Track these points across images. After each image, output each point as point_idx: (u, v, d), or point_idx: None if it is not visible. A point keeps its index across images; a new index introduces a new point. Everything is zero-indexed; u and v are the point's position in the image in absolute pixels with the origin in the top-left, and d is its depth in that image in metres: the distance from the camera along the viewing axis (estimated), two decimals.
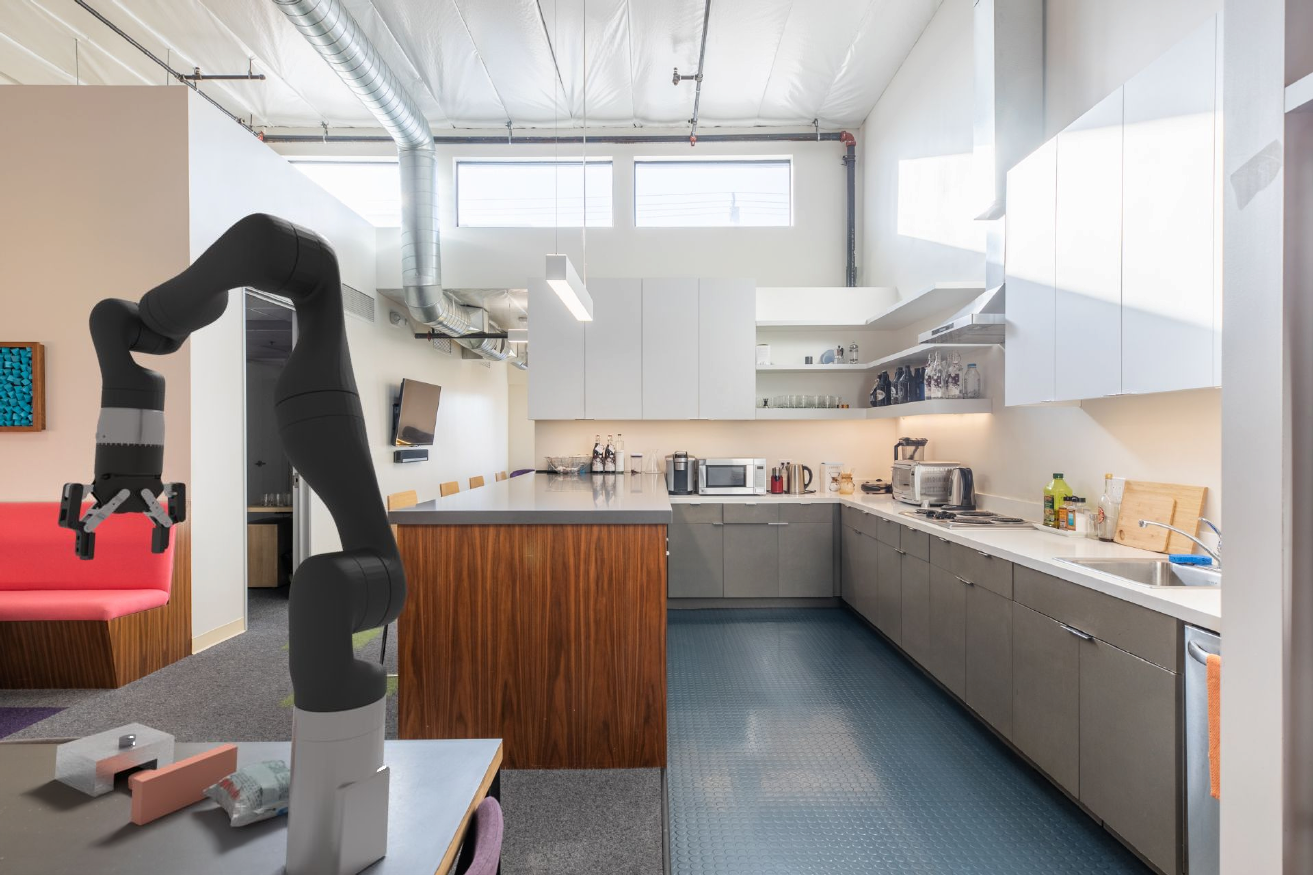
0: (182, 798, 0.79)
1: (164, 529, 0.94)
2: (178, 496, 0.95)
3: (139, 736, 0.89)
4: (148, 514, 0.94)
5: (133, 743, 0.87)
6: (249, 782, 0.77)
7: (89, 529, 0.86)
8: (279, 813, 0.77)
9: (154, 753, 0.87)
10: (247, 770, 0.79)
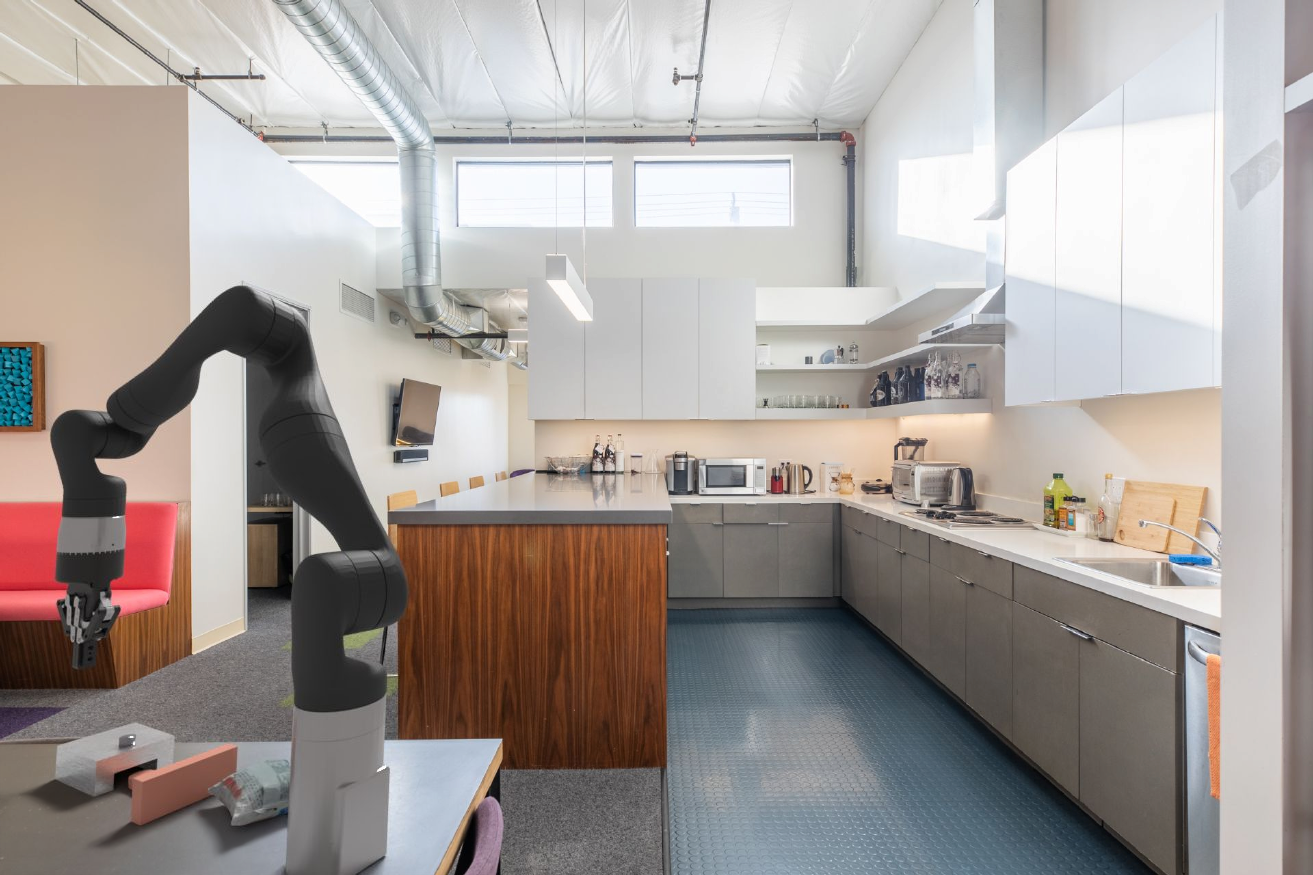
0: (182, 798, 0.79)
1: None
2: None
3: (139, 736, 0.89)
4: None
5: (133, 743, 0.87)
6: (252, 782, 0.77)
7: None
8: (281, 813, 0.77)
9: (154, 753, 0.87)
10: (250, 770, 0.80)
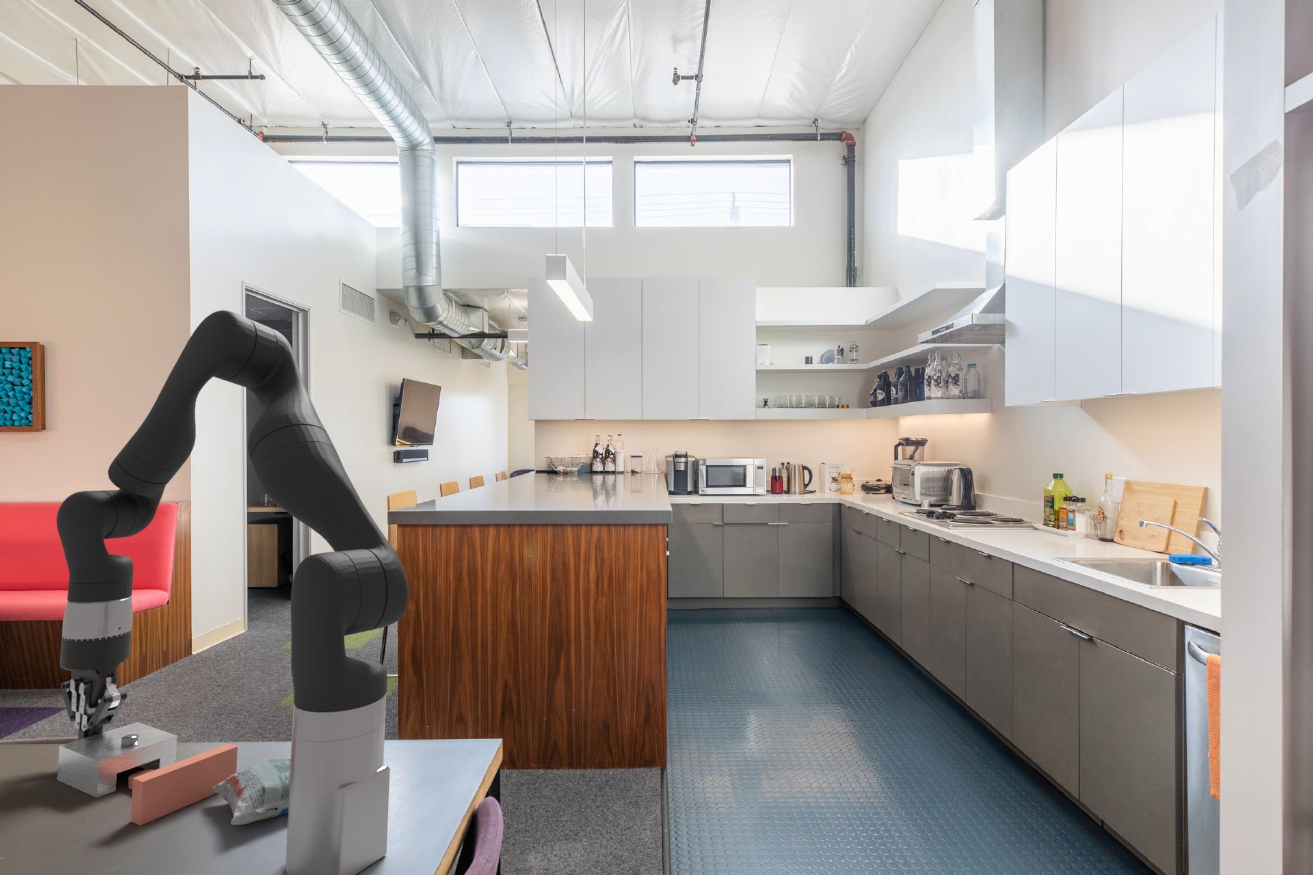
0: (182, 798, 0.79)
1: None
2: None
3: (142, 736, 0.89)
4: None
5: (136, 743, 0.86)
6: (254, 781, 0.77)
7: None
8: (282, 813, 0.77)
9: (157, 753, 0.87)
10: (254, 769, 0.80)
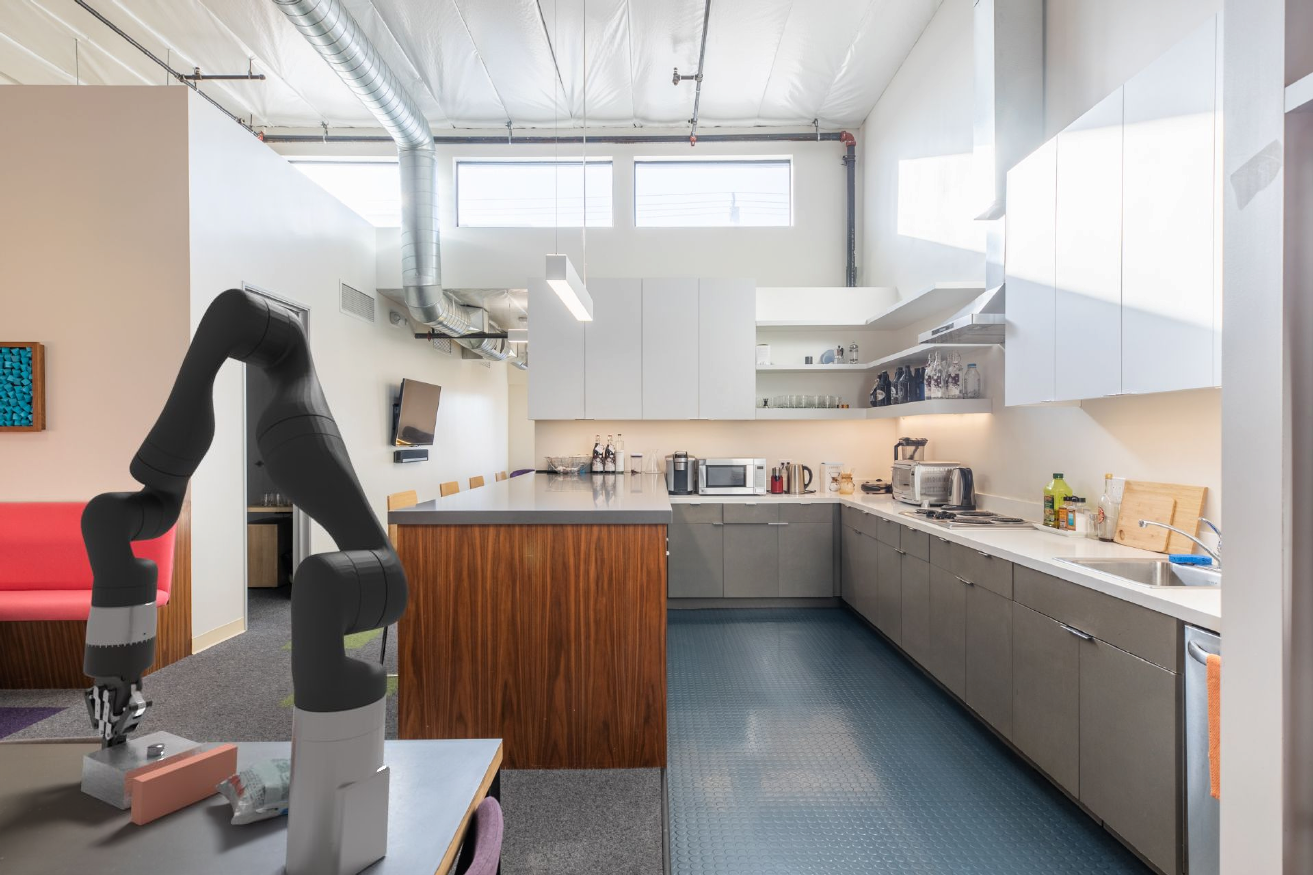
0: (182, 798, 0.79)
1: None
2: None
3: (167, 745, 0.86)
4: None
5: (162, 753, 0.84)
6: (255, 781, 0.77)
7: None
8: (283, 813, 0.77)
9: None
10: (256, 768, 0.80)
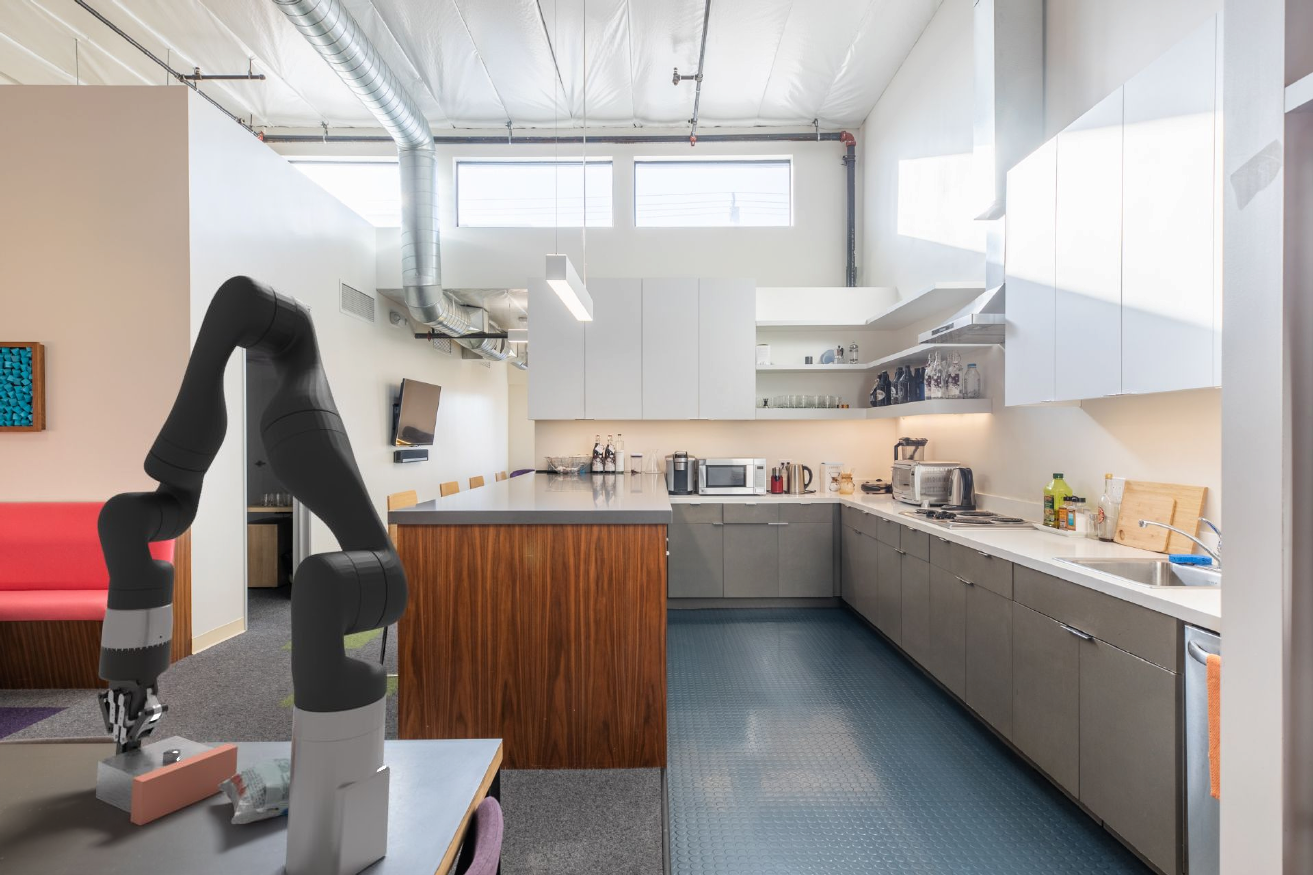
0: (182, 798, 0.79)
1: None
2: None
3: (183, 751, 0.85)
4: None
5: (178, 759, 0.82)
6: (256, 780, 0.77)
7: None
8: (284, 813, 0.77)
9: None
10: (258, 768, 0.80)
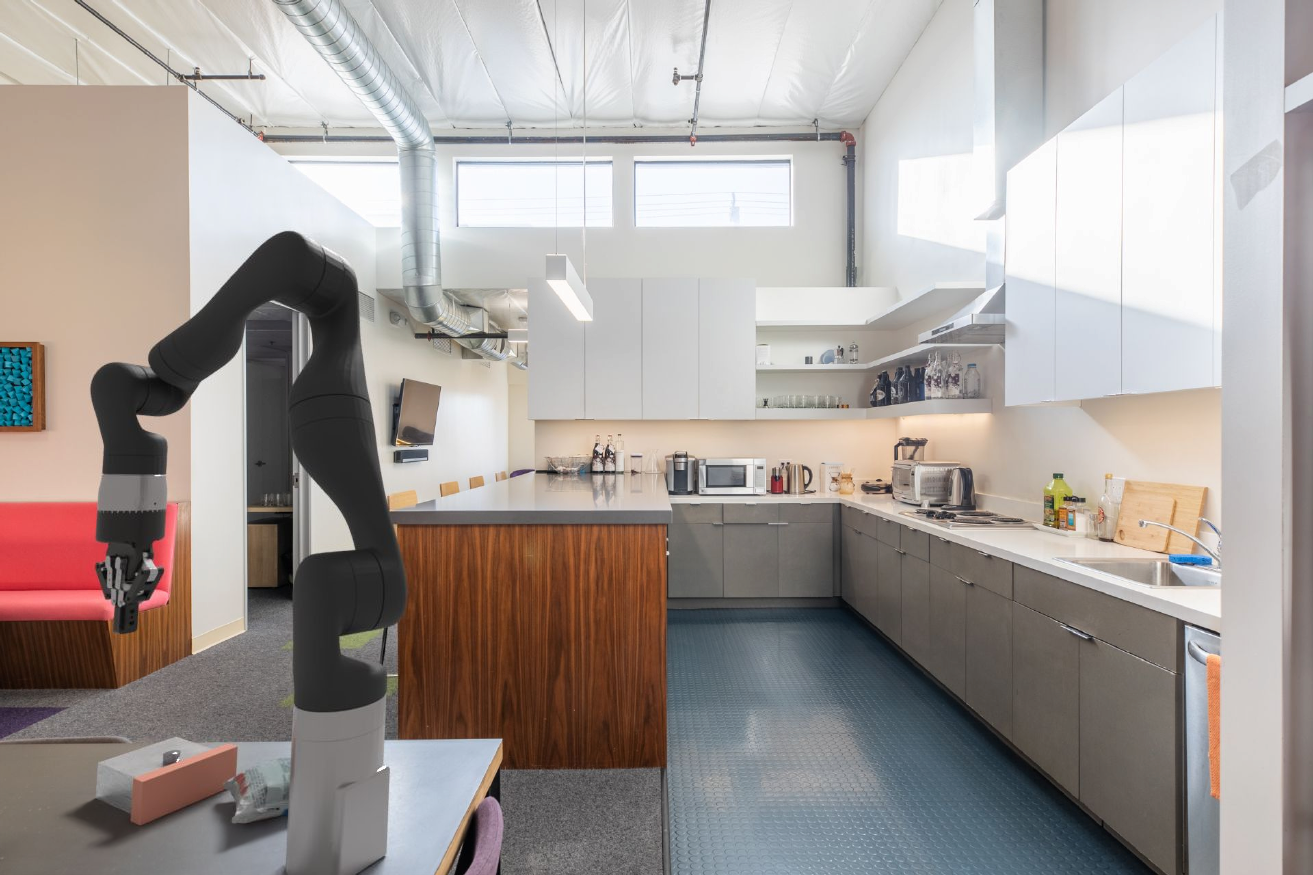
0: (182, 798, 0.79)
1: None
2: None
3: (183, 752, 0.85)
4: None
5: (178, 760, 0.82)
6: (258, 779, 0.77)
7: None
8: (285, 813, 0.77)
9: None
10: (261, 767, 0.80)
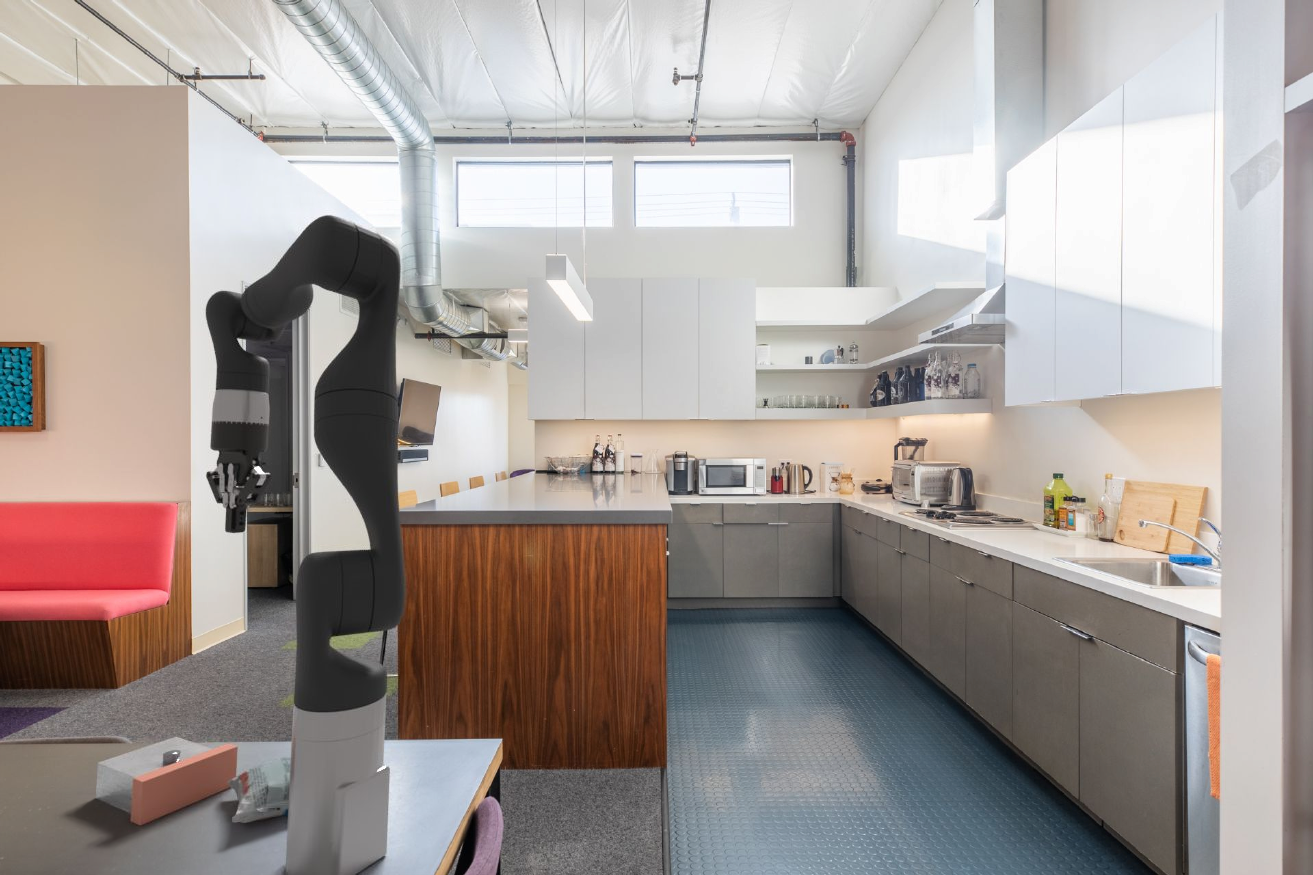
0: (182, 798, 0.79)
1: None
2: None
3: (183, 752, 0.85)
4: None
5: (178, 760, 0.82)
6: (260, 779, 0.78)
7: None
8: (286, 812, 0.77)
9: None
10: (264, 766, 0.81)
